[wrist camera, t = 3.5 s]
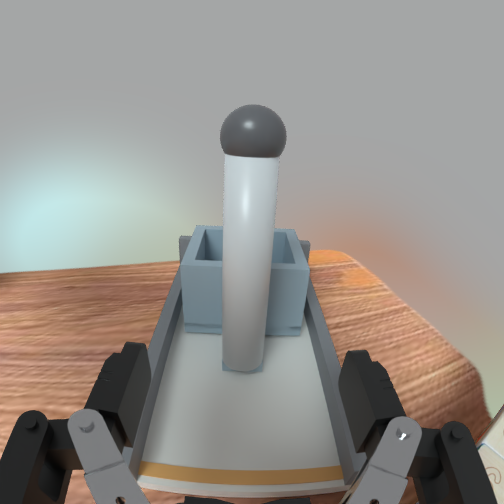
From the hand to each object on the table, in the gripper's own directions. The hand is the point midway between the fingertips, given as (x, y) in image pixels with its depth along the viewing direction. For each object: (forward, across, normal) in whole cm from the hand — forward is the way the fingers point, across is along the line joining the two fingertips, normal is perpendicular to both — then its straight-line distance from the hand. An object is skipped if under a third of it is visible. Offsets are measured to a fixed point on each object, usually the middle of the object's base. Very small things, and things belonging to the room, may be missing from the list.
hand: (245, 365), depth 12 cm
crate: (+14, 0, +9) cm, 17 cm away
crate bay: (+11, 0, +10) cm, 15 cm away
